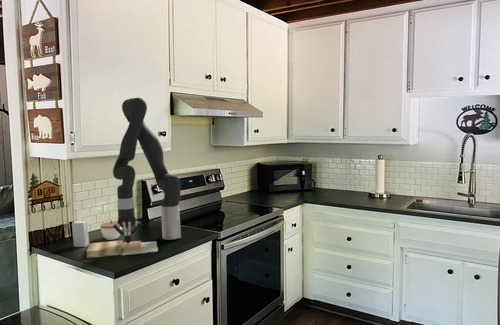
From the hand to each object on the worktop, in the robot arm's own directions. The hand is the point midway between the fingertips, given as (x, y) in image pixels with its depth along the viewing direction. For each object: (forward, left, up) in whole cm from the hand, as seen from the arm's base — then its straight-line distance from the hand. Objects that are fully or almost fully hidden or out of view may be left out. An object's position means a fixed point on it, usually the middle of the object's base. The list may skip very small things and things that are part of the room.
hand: (128, 242), depth 188 cm
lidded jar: (+9, -23, -4) cm, 25 cm away
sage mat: (-5, 0, -3) cm, 6 cm away
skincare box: (+23, -14, -4) cm, 27 cm away
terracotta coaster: (-2, 0, -2) cm, 3 cm away
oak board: (+10, 0, -3) cm, 11 cm away
